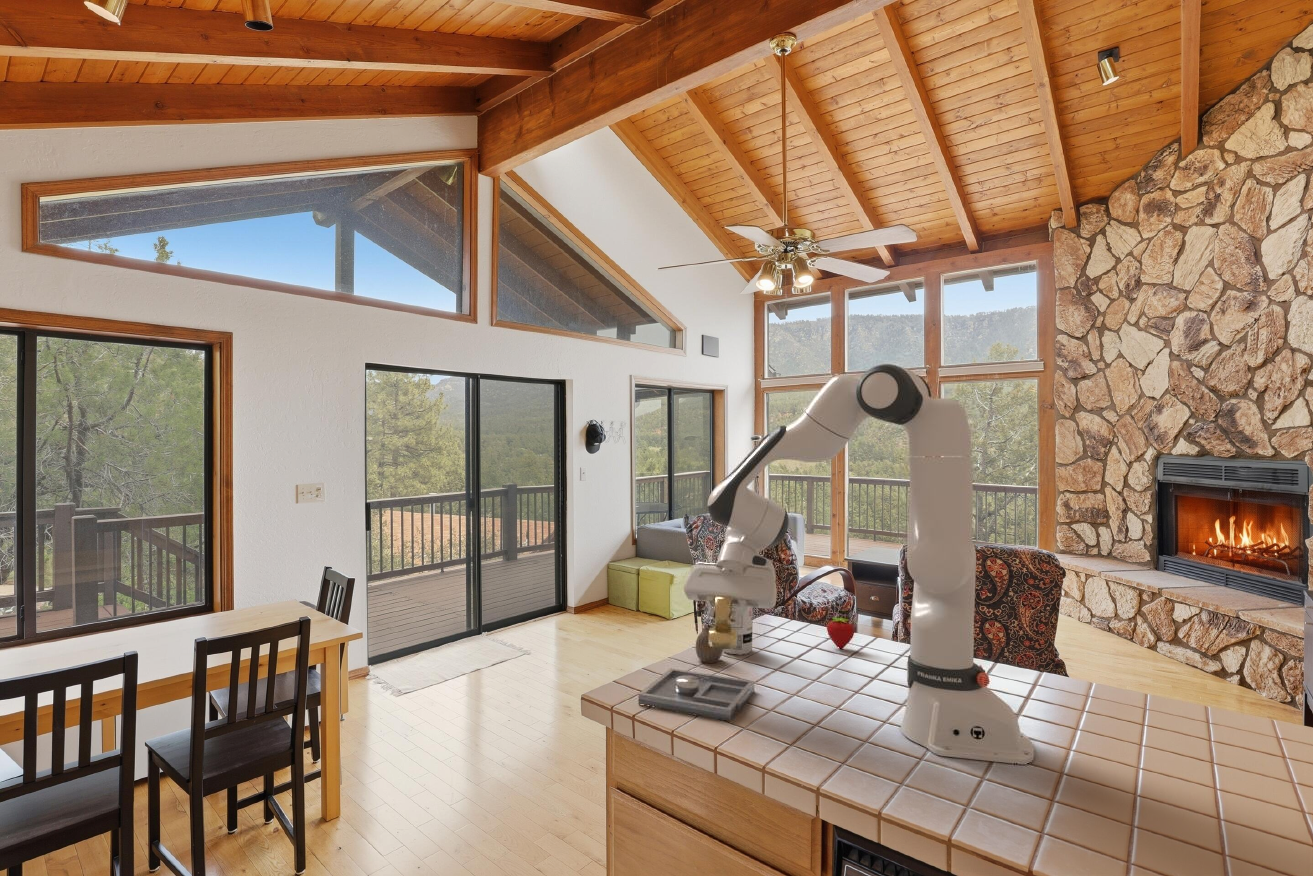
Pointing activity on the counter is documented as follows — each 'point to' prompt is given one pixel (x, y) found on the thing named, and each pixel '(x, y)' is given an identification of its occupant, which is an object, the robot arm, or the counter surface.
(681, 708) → the tray
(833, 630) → the strawberry
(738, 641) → the supplement can
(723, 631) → the gold peg with base
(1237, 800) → the counter surface
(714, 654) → the vase
